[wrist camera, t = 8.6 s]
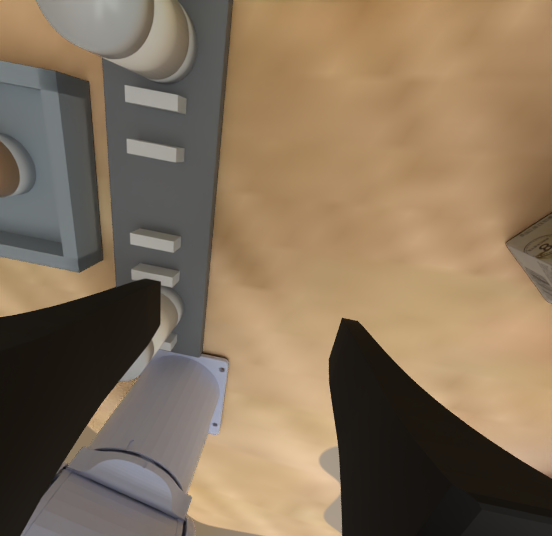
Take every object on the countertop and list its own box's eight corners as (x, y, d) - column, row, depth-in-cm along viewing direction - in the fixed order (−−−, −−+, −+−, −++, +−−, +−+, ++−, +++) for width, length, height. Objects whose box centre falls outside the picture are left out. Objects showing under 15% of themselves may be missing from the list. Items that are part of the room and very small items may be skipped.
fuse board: (202, 351, 24) (194, 367, 23) (125, 335, 25) (110, 350, 23) (237, -49, 14) (227, -78, 12) (104, -72, 14) (74, -105, 13)
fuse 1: (195, 90, 16) (139, 58, 11) (128, 78, 16) (37, 40, 11) (199, 1, 14) (135, -91, 9) (125, -12, 15) (16, -110, 9)
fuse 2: (183, 330, 23) (144, 387, 17) (135, 320, 23) (82, 374, 17) (185, 287, 21) (143, 335, 16) (134, 277, 21) (75, 321, 16)
